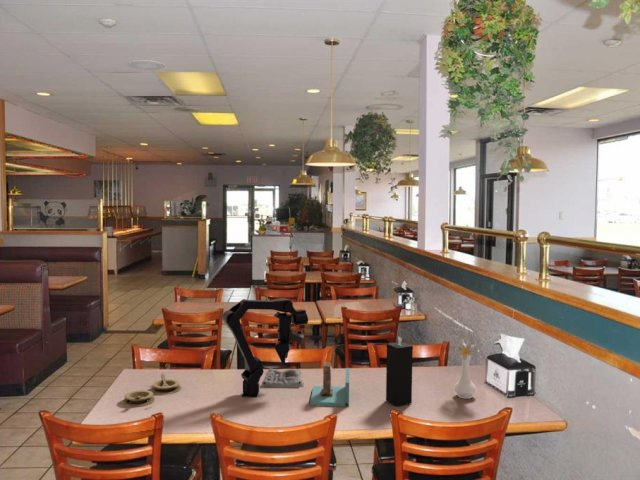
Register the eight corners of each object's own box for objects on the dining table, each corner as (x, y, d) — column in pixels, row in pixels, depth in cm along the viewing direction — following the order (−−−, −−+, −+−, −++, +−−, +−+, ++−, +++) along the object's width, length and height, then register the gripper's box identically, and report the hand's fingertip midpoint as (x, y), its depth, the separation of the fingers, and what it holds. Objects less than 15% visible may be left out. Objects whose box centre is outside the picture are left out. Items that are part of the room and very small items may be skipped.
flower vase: (469, 388, 250) (470, 334, 248) (486, 403, 231) (488, 344, 230) (441, 389, 248) (443, 334, 246) (457, 404, 230) (458, 345, 228)
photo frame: (320, 396, 234) (321, 366, 233) (321, 391, 240) (321, 362, 239) (332, 396, 234) (332, 366, 233) (332, 391, 240) (333, 362, 239)
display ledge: (310, 405, 227) (310, 381, 227) (313, 388, 247) (313, 367, 247) (348, 406, 226) (349, 382, 226) (349, 389, 246) (349, 368, 246)
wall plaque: (303, 389, 249) (303, 380, 248) (261, 388, 249) (261, 380, 248) (305, 372, 272) (305, 365, 272) (266, 372, 272) (266, 364, 272)
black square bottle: (396, 407, 226) (397, 340, 224) (385, 400, 233) (386, 336, 231) (411, 403, 230) (413, 338, 228) (400, 397, 237) (401, 334, 235)
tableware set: (144, 412, 220) (144, 398, 220) (109, 404, 229) (109, 390, 229) (192, 389, 247) (192, 376, 247) (159, 383, 256) (159, 370, 255)
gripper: (300, 331, 235) (300, 367, 236) (304, 322, 253) (304, 355, 254) (274, 331, 235) (274, 367, 237) (280, 321, 254) (280, 354, 255)
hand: (284, 360), depth 246 cm, fingers open, 9 cm apart
